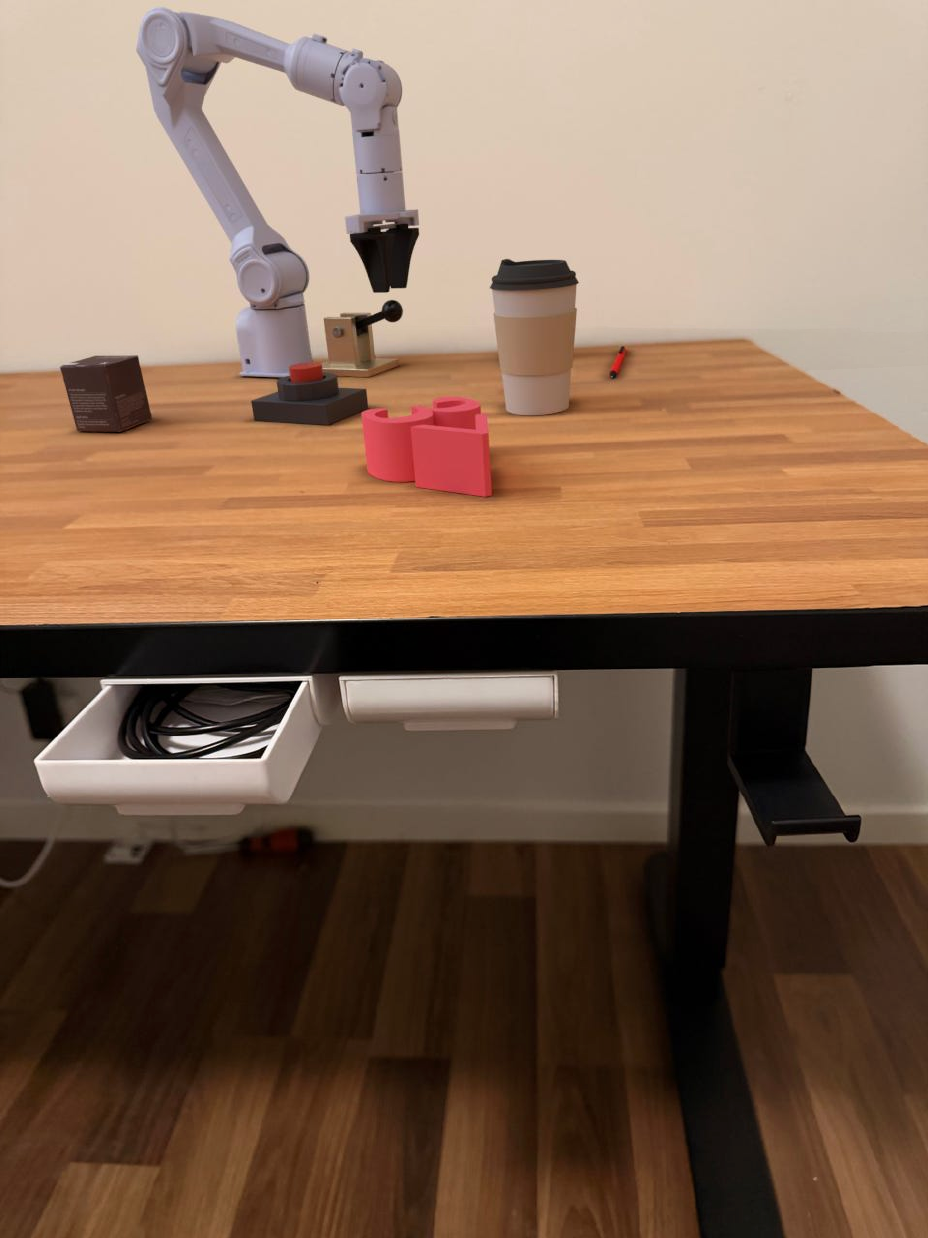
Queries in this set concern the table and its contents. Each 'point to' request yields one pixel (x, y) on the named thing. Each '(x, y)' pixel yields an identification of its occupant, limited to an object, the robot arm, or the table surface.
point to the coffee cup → (535, 333)
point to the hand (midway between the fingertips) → (390, 290)
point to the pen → (618, 362)
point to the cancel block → (310, 402)
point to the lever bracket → (352, 348)
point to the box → (106, 393)
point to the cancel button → (306, 372)
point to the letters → (431, 446)
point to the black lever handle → (381, 316)
